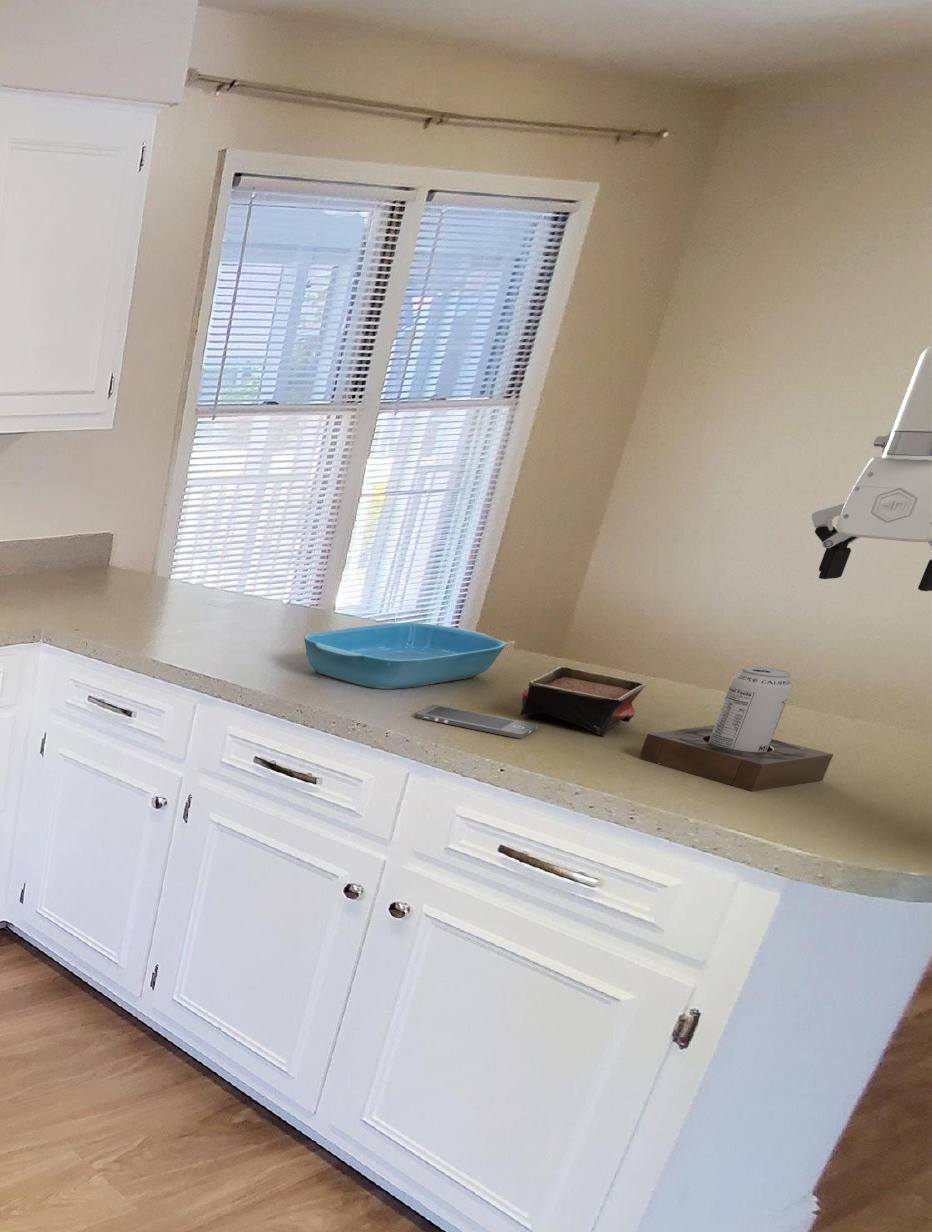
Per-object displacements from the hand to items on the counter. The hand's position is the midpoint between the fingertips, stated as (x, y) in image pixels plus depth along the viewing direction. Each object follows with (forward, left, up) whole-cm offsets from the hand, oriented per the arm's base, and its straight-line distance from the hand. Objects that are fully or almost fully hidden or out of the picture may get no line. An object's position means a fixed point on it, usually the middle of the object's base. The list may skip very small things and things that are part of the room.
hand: (877, 584), depth 133 cm
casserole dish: (+63, -1, -29) cm, 69 cm away
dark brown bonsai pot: (+31, -2, -29) cm, 42 cm away
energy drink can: (+7, 0, -29) cm, 30 cm away
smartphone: (+35, +14, -29) cm, 47 cm away
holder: (+8, 0, -29) cm, 30 cm away
